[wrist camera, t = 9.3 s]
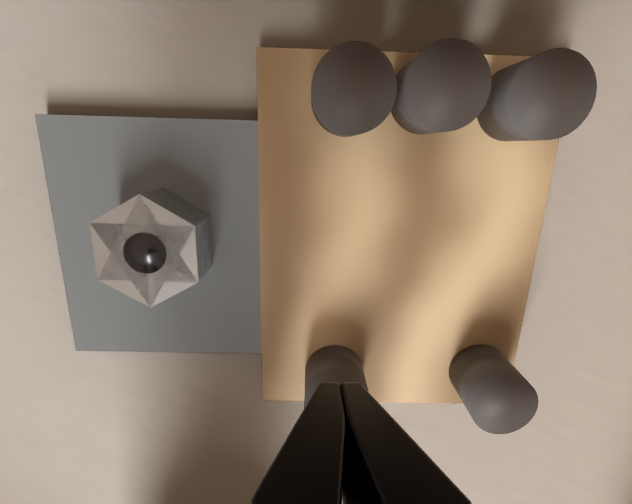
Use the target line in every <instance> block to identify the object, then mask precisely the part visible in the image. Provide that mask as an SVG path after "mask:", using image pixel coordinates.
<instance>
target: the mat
mask: <svg viewBox="0 0 632 504" xmlns="http://www.w3.org/2000/svg"><path fill="white" fill-rule="evenodd" d="M35 118H36V124H37V129H38V135H39V141H40V147H41V152H42V158H43V164H44V170H45V175H46V181H47V187H48V193H49V198H50V204H51V210H52V216H53V221H54V227H55V233H56V239H57V244H58V250H59V256H60V262H61V267H62V273H63V279H64V285H65V290H66V296H67V302H68V308H69V313H70V319H71V325H72V331H73V336H74V342H75V348H76V351H130V352H191V353H252V354H262V350H261V289H260V227H259V166H258V121H256V120H221V119H187V118H153V117H118V116H84V115H50V114H35ZM159 188H165V189H166V190H168V191H170V192H172V193H173V194H175V195H177V196H178V197H180V198H182V199H184V200H185V201H187V202H189V203H190V204H192V205H194V206H196V207H197V208H199V209H201V210H202V211H204V212H206V213H208V214H209V215H211V234H212V255H213V265H212V267H211V268H210V269H209V270H208V271H207V273H206V274H205V275H204V276H203V277H202V279H201V280H200V281H199V282H198V283H196V284H194V285H193V286H191V287H189V288H187V289H185V290H183V291H181V292H179V293H177V294H175V295H174V296H172V297H170V298H168V299H166V300H164V301H162V302H160V303H158V304H157V305H155V306H153V307H151V308H150V307H148V306H146V305H145V304H143V303H141V302H139V301H137V300H135V299H133V298H131V297H129V296H127V295H125V294H124V293H122V292H120V291H118V290H116V289H114V288H112V287H110V286H108V285H106V284H104V283H103V282H101V281H99V280H97V275H96V267H95V260H94V253H93V246H92V239H91V232H90V224H89V223H90V222H91V221H93V220H95V219H97V218H98V217H100V216H102V215H104V214H105V213H107V212H109V211H111V210H112V209H114V208H116V207H117V206H119V205H121V204H123V203H124V202H126V201H128V200H130V199H131V198H133V197H135V196H137V195H138V194H141V193H145V192H148V191H152V190H156V189H159Z"/></svg>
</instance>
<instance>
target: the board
mask: <svg viewBox="0 0 632 504" xmlns="http://www.w3.org/2000/svg"><path fill="white" fill-rule="evenodd" d="M596 90H597V83H596V76H595V72H594V70H593V67H592V66H591V64H590V62H589V61H588V60H587V59H586V58H585V57H584V56H583V55H582V54H580V53H579V52H576V51H574V50H571V49H566V48H556V49H551V50H548V51H545V52H542V53H540V54H537V55H535V56H511V55H484V54H483V53H482V52H481V51H480V49H478V48H477V47H476V46H475V45H473V44H472V43H470V42H468V41H466V40H462V39H457V38H448V39H443V40H440V41H437V42H435V43H433V44H431V45H429V46H428V47H426V48H425V49H424V50H423V51H422V52H391V51H381V50H379V49H378V48H377V47H375V46H373V45H371V44H369V43H365V42H359V41H350V42H345V43H342V44H339V45H337V46H335V47H333V48H332V49H331V50H330V49H300V48H270V47H257V104H258V166H259V227H260V289H261V350H262V400H274V401H304V409H305V407H306V405H307V403H308V402H309V400H310V398H311V397H312V395H313V393H314V392H315V390H316V388H317V386H318V385H319V383H320V382H338V383H339V384H341V383H342V382H358V383H360V384H361V385H362V386H363V387H364V388H365V389H366V390H367V391H368V392H369V393H370V394H371V395H372V396H373V397H374V399H375V400H376V401H377V402H418V403H464V405H465V407H466V408H467V410H468V412H469V413H470V415H471V417H472V418H473V420H474V422H475V423H476V424H477V426H479V427H480V428H481V429H483V430H484V431H486V432H489V433H494V434H506V433H510V432H514V431H516V430H518V429H520V428H522V427H523V426H525V425H526V424H527V423H528V422H529V421H530V420H531V419H532V418H533V416H534V415H535V413H536V410H537V407H538V396H537V393H536V391H535V389H534V388H533V387H532V386H531V385H530V383H529V382H528V381H527V380H526V379H525V378H524V377H523V376H522V375H521V374H520V373H519V372H518V370H517V369H516V368H515V367H514V361H515V356H516V351H517V346H518V341H519V336H520V331H521V326H522V321H523V316H524V311H525V306H526V301H527V296H528V291H529V286H530V282H531V277H532V272H533V267H534V262H535V257H536V252H537V247H538V242H539V237H540V232H541V227H542V222H543V217H544V212H545V207H546V202H547V197H548V192H549V187H550V182H551V177H552V172H553V167H554V162H555V157H556V152H557V147H558V142H559V138H561V137H563V136H566V135H567V134H569V133H571V132H572V131H574V130H575V129H576V128H577V127H578V126H579V125H581V123H582V122H583V121H584V120H585V119H586V117H587V116H588V114H589V112H590V111H591V109H592V106H593V104H594V101H595V97H596Z"/></svg>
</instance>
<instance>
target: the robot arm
mask: <svg viewBox="0 0 632 504" xmlns="http://www.w3.org/2000/svg"><path fill="white" fill-rule="evenodd" d="M342 501H343V504H471V501H470V500H469V499H468V498H467V497H466V496H465V495H464V494H463V493H462V492H461V491H460V490H459V488H458V487H457V486H456V485H455V484H454V483H453V482H452V481H451V480H450V479H449V478H448V477H447V476H446V475H445V473H444V472H443V471H442V470H441V469H440V468H439V467H438V466H437V465H436V464H435V463H434V462H433V461H432V460H431V459H430V457H429V456H428V455H427V454H426V453H425V452H424V451H423V450H422V449H421V448H420V447H419V446H418V445H417V444H416V442H415V441H414V440H413V439H412V438H411V437H410V436H409V435H408V434H407V433H406V432H405V431H404V430H403V429H402V427H401V426H400V425H399V424H398V423H397V422H396V421H395V420H394V419H393V418H392V417H391V416H390V415H389V414H388V412H387V411H386V410H385V409H384V408H383V407H382V406H381V405H380V404H379V403H378V402H377V401H376V400H375V399H374V397H373V396H372V395H371V394H370V393H369V392H368V391H367V390H366V389H365V388H364V387H363V386H362V385H361V384H360V383H358V382H342V383H341V384H339V383H338V382H320V383H319V385H318V386H317V388H316V390H315V392H314V393H313V395H312V397H311V398H310V400H309V402H308V403H307V405H306V407H305V409H304V410H303V412H302V414H301V415H300V417H299V419H298V420H297V422H296V424H295V426H294V427H293V429H292V431H291V432H290V434H289V436H288V437H287V439H286V441H285V443H284V444H283V446H282V448H281V449H280V451H279V453H278V454H277V456H276V458H275V460H274V461H273V463H272V465H271V466H270V468H269V470H268V471H267V473H266V475H265V477H264V478H263V480H262V482H261V483H260V485H259V487H258V488H257V490H256V492H255V494H254V495H253V497H252V499H251V500H250V504H342Z"/></svg>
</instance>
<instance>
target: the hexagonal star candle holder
mask: <svg viewBox="0 0 632 504" xmlns="http://www.w3.org/2000/svg"><path fill="white" fill-rule="evenodd" d="M89 224H90V232H91V239H92V246H93V253H94V260H95V267H96V275H97V280H99V281H101V282H103V283H104V284H106V285H108V286H110V287H112V288H114V289H116V290H118V291H120V292H122V293H124V294H125V295H127V296H129V297H131V298H133V299H135V300H137V301H139V302H141V303H143V304H145V305H146V306H148V307H150V308H151V307H153V306H155V305H157V304H158V303H160V302H162V301H164V300H166V299H168V298H170V297H172V296H174V295H175V294H177V293H179V292H181V291H183V290H185V289H187V288H189V287H191V286H193V285H194V284H196V283H198V282H199V281H200V280H201V279H202V277H203V276H204V275H205V274H206V273H207V271H208V270H209V269H210V268H211V267H212V265H213V255H212V234H211V215H209V214H208V213H206V212H204V211H202V210H201V209H199V208H197V207H196V206H194V205H192V204H190V203H189V202H187V201H185V200H184V199H182V198H180V197H178V196H177V195H175V194H173V193H172V192H170V191H168V190H166V189H165V188H159V189H156V190H152V191H148V192H145V193H141V194H138V195H137V196H135V197H133V198H131V199H130V200H128V201H126V202H124V203H123V204H121V205H119V206H117V207H116V208H114V209H112V210H111V211H109V212H107V213H105V214H104V215H102V216H100V217H98V218H97V219H95V220H93V221H91V222H90V223H89Z"/></svg>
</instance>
